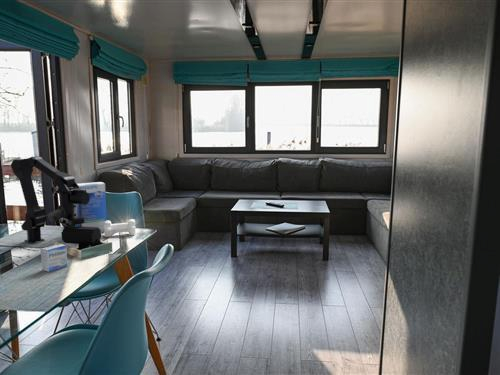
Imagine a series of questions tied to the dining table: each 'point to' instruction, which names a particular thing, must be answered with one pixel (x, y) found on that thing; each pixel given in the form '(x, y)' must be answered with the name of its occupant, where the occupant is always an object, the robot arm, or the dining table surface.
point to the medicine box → (54, 257)
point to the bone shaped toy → (119, 227)
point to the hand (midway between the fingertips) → (68, 236)
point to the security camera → (82, 236)
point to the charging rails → (88, 250)
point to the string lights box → (93, 205)
